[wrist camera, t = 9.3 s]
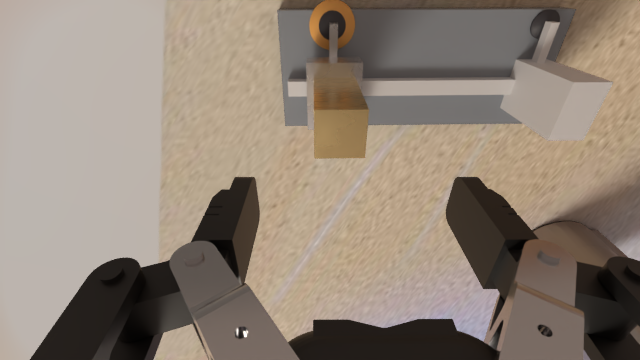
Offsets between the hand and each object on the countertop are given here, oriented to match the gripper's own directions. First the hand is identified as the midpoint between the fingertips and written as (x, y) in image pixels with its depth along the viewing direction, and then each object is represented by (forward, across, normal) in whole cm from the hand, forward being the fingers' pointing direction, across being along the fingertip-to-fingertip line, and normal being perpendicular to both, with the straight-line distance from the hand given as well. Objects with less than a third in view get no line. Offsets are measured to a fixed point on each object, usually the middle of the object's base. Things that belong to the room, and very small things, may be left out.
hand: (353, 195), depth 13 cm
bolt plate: (+17, -7, -1) cm, 18 cm away
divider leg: (+15, 0, -1) cm, 15 cm away
